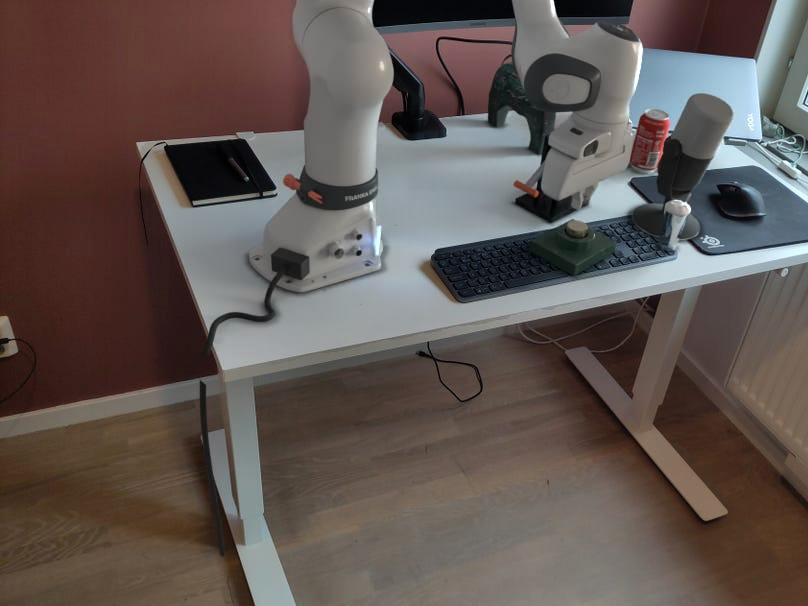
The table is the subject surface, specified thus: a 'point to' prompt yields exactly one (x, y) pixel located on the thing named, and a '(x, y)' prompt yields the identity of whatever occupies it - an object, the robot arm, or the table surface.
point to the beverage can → (649, 140)
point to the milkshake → (673, 223)
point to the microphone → (686, 159)
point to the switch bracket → (545, 198)
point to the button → (576, 229)
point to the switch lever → (531, 182)
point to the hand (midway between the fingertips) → (579, 206)
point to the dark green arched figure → (517, 106)
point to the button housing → (572, 249)
